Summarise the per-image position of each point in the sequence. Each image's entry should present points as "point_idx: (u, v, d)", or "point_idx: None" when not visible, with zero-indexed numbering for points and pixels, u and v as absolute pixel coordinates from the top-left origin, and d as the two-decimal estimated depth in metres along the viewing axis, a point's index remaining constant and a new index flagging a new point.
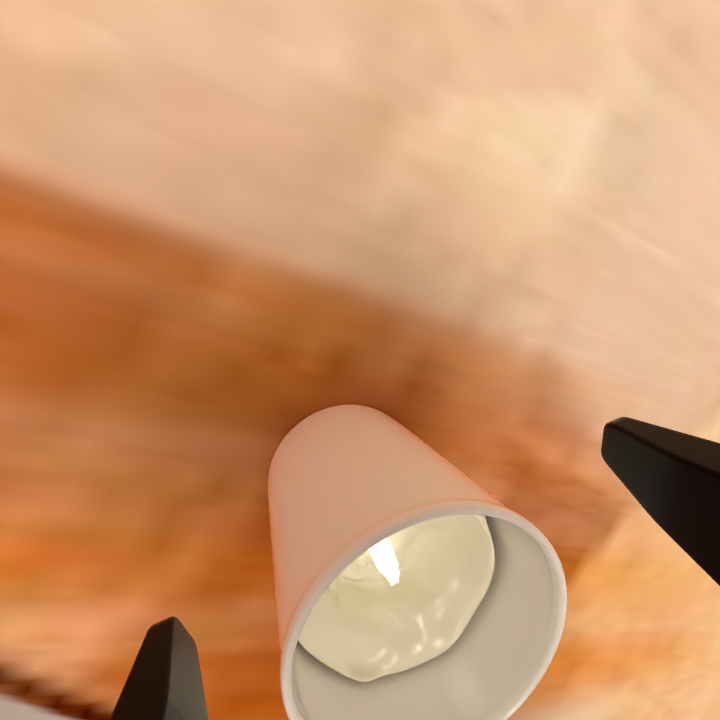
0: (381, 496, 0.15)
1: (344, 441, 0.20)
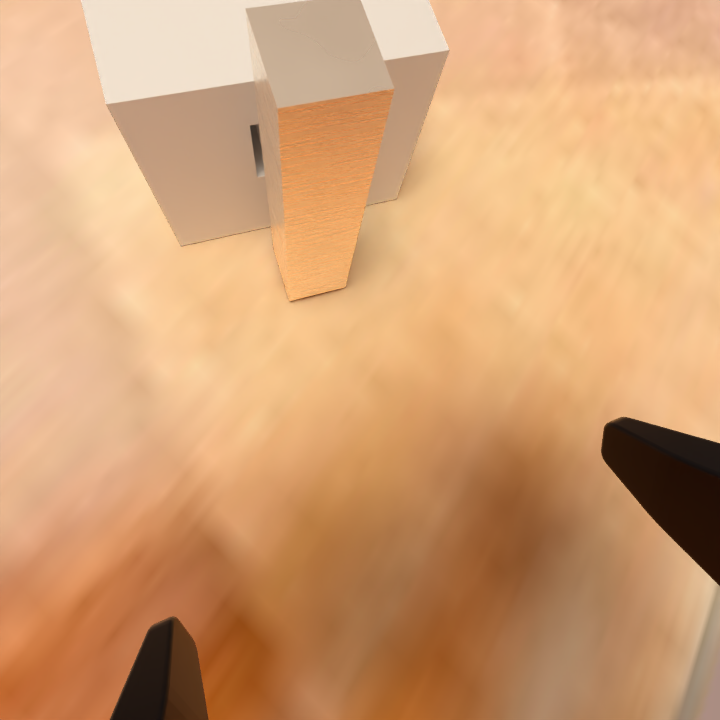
0: None
1: None
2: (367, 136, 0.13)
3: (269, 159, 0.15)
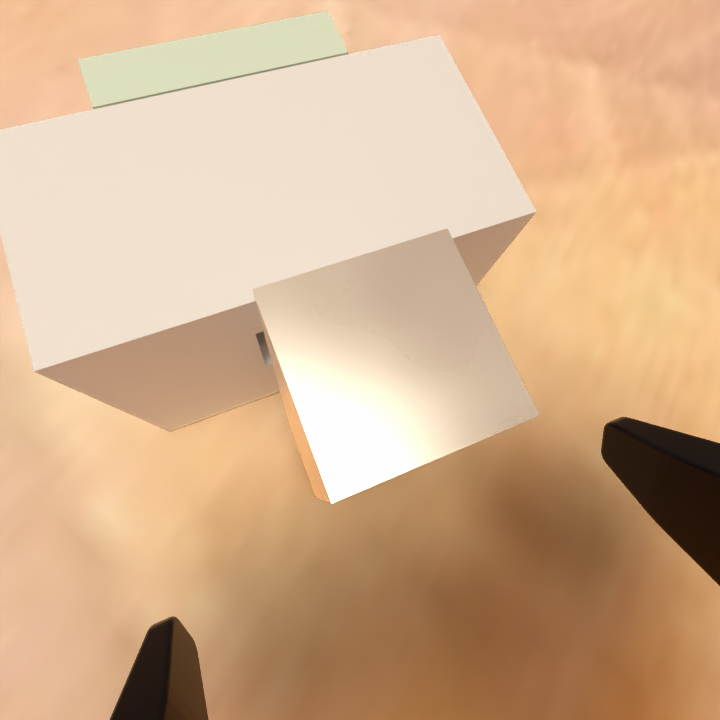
0: None
1: None
2: None
3: (293, 422, 0.10)
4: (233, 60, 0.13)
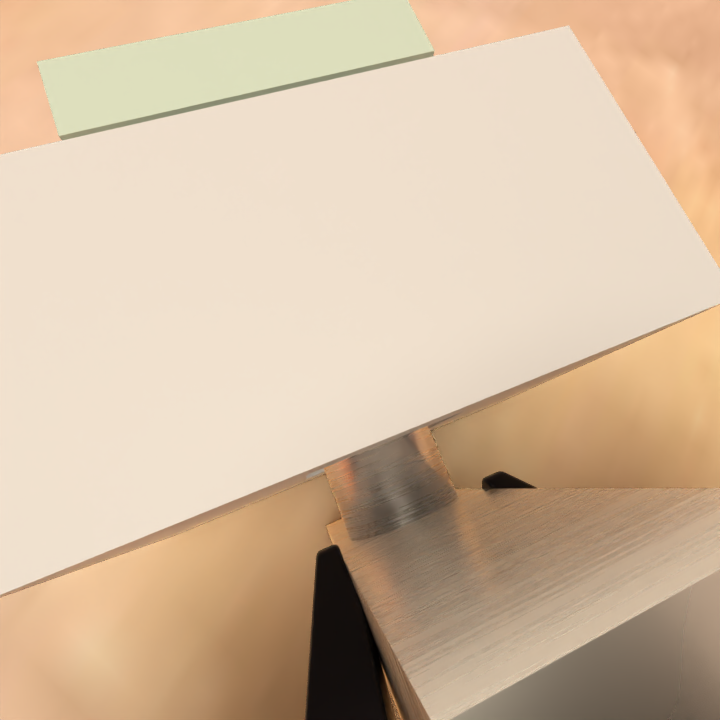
0: None
1: None
2: None
3: (390, 677, 0.06)
4: (271, 63, 0.09)
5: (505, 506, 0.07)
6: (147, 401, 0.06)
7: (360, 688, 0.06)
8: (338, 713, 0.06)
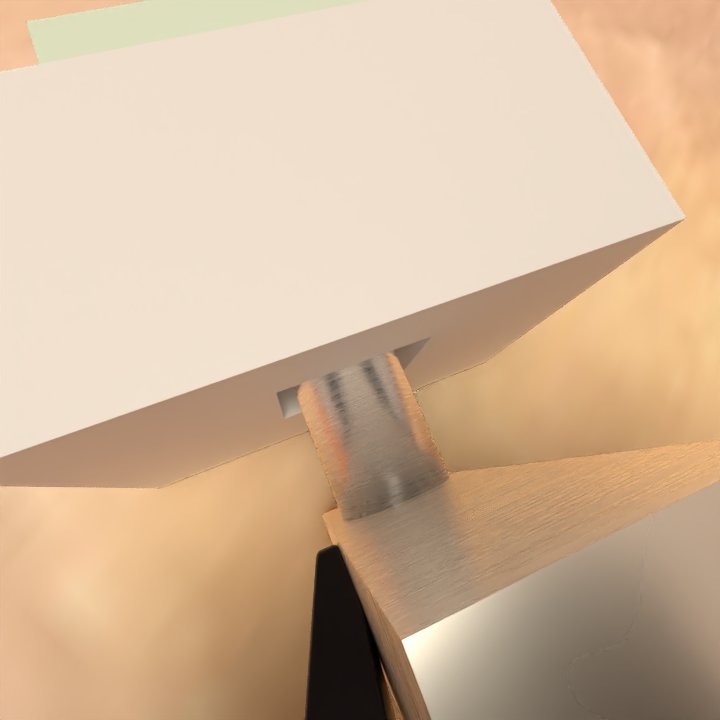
0: None
1: None
2: None
3: (378, 645, 0.06)
4: None
5: (493, 480, 0.07)
6: (117, 298, 0.07)
7: (360, 688, 0.06)
8: (337, 713, 0.06)
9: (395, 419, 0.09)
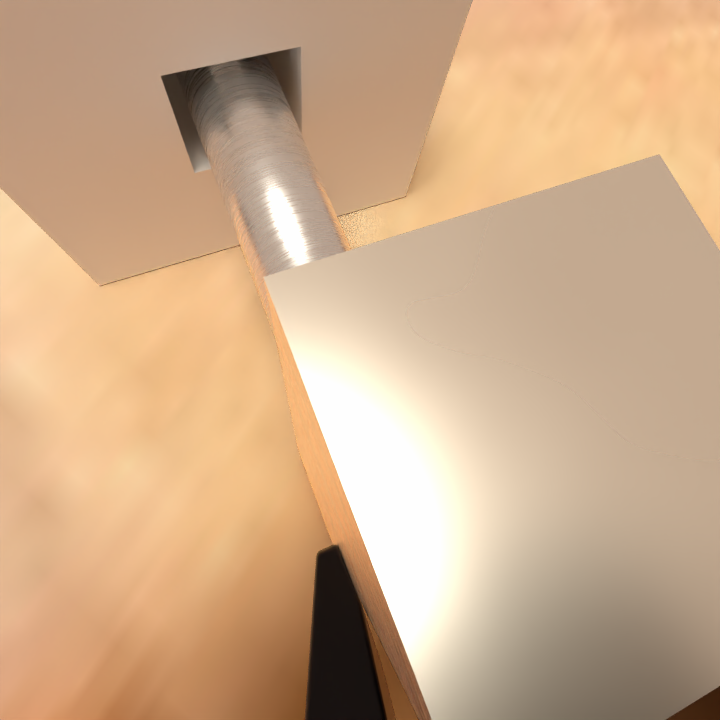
0: None
1: None
2: None
3: (320, 487, 0.06)
4: None
5: None
6: None
7: (360, 688, 0.06)
8: (337, 713, 0.06)
9: None
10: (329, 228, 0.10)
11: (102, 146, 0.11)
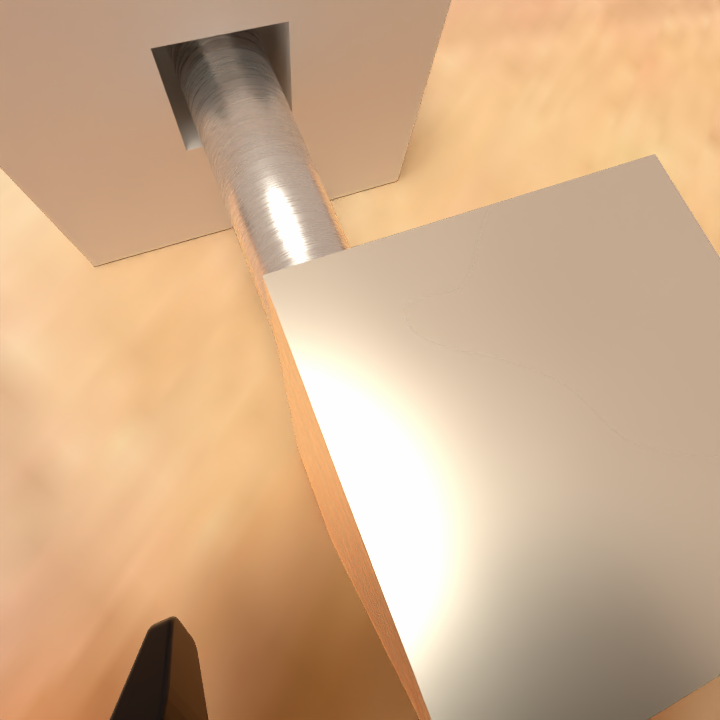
0: None
1: None
2: None
3: (319, 486, 0.06)
4: None
5: None
6: None
7: None
8: None
9: None
10: (329, 228, 0.10)
11: (94, 120, 0.11)
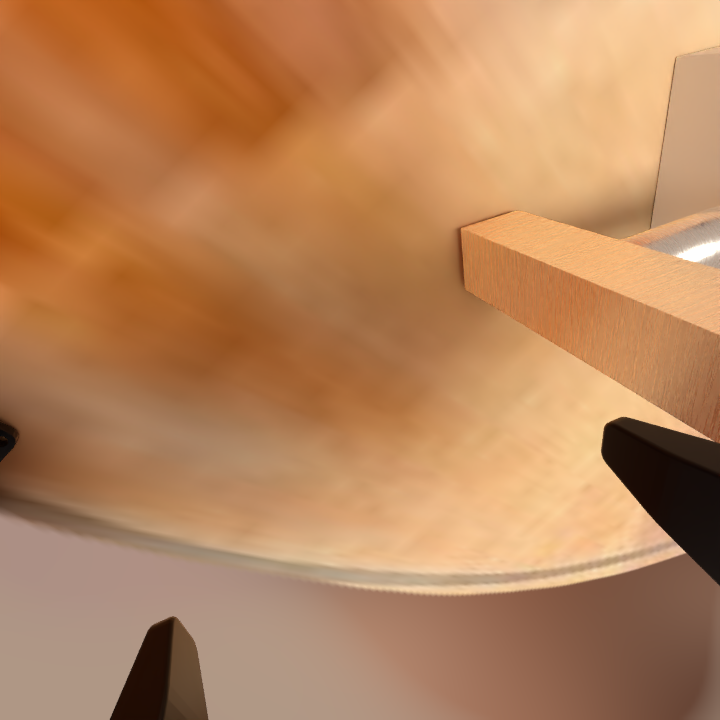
0: None
1: None
2: (685, 408, 0.13)
3: (667, 277, 0.14)
4: None
5: None
6: None
7: None
8: None
9: None
10: None
11: None
